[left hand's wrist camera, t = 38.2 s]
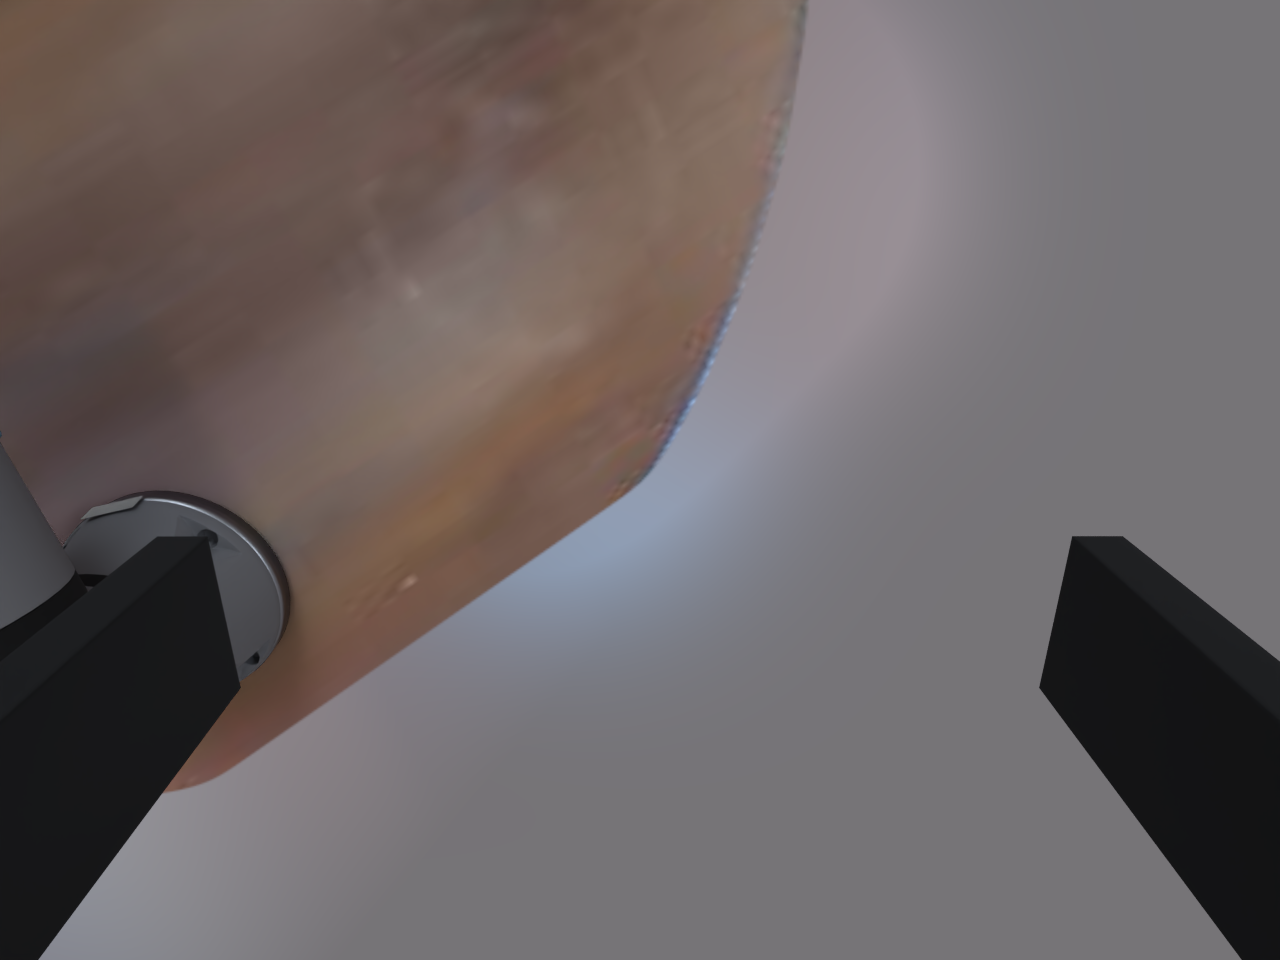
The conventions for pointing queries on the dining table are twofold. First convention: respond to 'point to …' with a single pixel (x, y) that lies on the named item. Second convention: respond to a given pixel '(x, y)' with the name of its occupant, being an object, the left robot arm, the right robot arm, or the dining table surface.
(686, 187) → the dining table surface
